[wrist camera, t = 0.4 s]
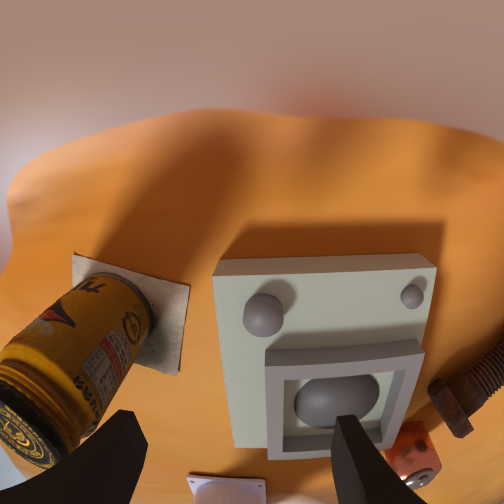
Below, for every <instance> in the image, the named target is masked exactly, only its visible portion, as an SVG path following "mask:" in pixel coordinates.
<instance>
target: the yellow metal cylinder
mask: <svg viewBox="0 0 504 504" xmlns="http://www.w3.org/2000/svg"><path fill="white" fill-rule="evenodd" d="M72 279H73V288H72V289H71V290H70V291H69V292H67V293H66V294H64V295H63V296H62V297H61V298H59V299H58V300H57V301H56V302H55V303H54V304H53V305H52V306H50V307H49V308H47V309H46V310H45V311H44V312H43V313H42V314H41V315H40V316H39V317H38V318H36V319H35V320H34V321H33V322H32V323H30V324H29V325H28V326H27V327H26V328H25V329H24V330H22V331H21V332H20V333H19V334H17V335H16V336H14V337H13V338H12V339H11V341H10V342H9V343H8V344H7V345H6V346H5V347H4V348H3V350H2V351H1V353H0V439H1V440H2V441H3V442H4V443H5V444H6V445H7V446H8V447H9V448H11V449H12V450H13V451H14V452H16V453H17V454H18V455H20V456H21V457H23V458H24V459H26V460H27V461H29V462H30V463H32V464H34V465H36V466H38V467H40V468H43V469H49V468H51V467H52V466H54V465H55V464H57V463H58V462H60V461H61V460H62V459H64V458H65V457H66V456H67V455H69V454H70V453H71V452H72V451H74V450H75V449H76V448H77V447H78V446H79V444H80V439H82V438H84V437H87V436H89V435H91V433H93V432H94V431H95V429H96V428H97V426H98V424H99V422H100V421H101V419H102V417H103V415H104V413H105V412H106V410H107V408H108V406H109V404H110V402H111V401H112V399H113V397H114V395H115V394H116V392H117V390H118V388H119V387H120V385H121V383H122V382H123V380H124V378H125V376H126V375H127V373H128V371H129V370H130V368H131V366H132V365H133V363H135V364H140V365H142V366H146V367H149V368H152V369H156V370H158V371H160V372H163V373H166V374H170V375H174V376H177V373H178V366H179V359H180V350H181V344H182V337H183V330H184V323H185V315H186V309H187V301H188V295H189V288H190V286H186V285H182V284H177V283H173V282H170V281H166V280H161V279H157V278H154V277H150V276H147V275H142V274H140V273H136V272H133V271H129V270H127V269H123V268H120V267H117V266H113V265H109V264H106V263H102V262H99V261H96V260H92V259H88V258H86V257H82V256H78V255H72ZM150 301H152V302H153V305H151V304H150ZM154 306H156V307H157V308H158V310H156V309H155V308H154Z"/></svg>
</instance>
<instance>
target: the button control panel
mask: <svg viewBox="0 0 504 504" xmlns="http://www.w3.org/2000/svg"><path fill="white" fill-rule="evenodd" d="M436 270H437V267H436V266H435V265H433V264H432V263H431V262H430V261H428V260H427V259H426V258H425V257H423V256H422V255H421V254H419V253H401V254H374V255H345V256H315V257H283V258H250V259H219V261H218V264H217V266H216V268H215V270H214V273H213V275H212V282H213V292H214V301H215V310H216V318H217V327H218V335H219V343H220V351H221V358H222V366H223V373H224V381H225V388H226V395H227V402H228V408H229V415H230V422H231V428H232V434H233V441H234V447H235V448H267V450H268V460H292V459H310V458H323V457H331V450H330V449H331V444H332V439H333V434H334V428H335V423H336V417H337V416H343V415H351V414H354V415H356V416H357V418H358V420H359V422H360V423H361V425H362V427H363V428H364V430H365V431H366V433H367V435H368V436H369V438H370V439H371V441H372V442H373V444H374V445H375V447H376V448H377V449H378V450H384V449H389V448H392V446H393V444H394V441H395V439H396V437H397V434H398V432H399V429H400V427H401V424H402V422H403V419H404V417H405V414H406V411H407V409H408V406H409V403H410V400H411V398H412V395H413V392H414V389H415V386H416V383H417V380H418V376H419V373H420V370H421V367H422V363H423V360H424V356H425V351H424V350H423V348H422V347H421V344H422V340H423V336H424V332H425V328H426V323H427V319H428V314H429V310H430V305H431V299H432V294H433V289H434V283H435V277H436Z"/></svg>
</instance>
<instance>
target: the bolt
mask: <svg viewBox="0 0 504 504" xmlns="http://www.w3.org/2000/svg"><path fill="white" fill-rule="evenodd" d="M469 371H470V372H466V373H465V374H463V375H461V376H460V377H459V378H458V379H457V380H455V381H454V382H453V383H452V384H451V385H449V386H448V387H447V385H446V384H445V383H444V381H443V380H442V378H441V377H440V378H438V379H437V380H436V381H434V382H433V383H432V384H430V385H429V386H428V391H427V392H428V394H429V396H430V398H431V399H432V401H433V403H434V405H435V406H436V408H437V410H438V412H439V413H440V415H441V416H442V418H443V420H444V421H445V423H446V424H447V426H448V427H449V429H450V430H451V432H452V433H453V435H454V436H455V437H457V438H464V437H465V436H466V435H468V434H469V433H470V432H472V431H473V430H474V429H473V427H472V425H471V423H470V422H469V420H468V417H470V416H471V415H472V414H473V413H475V412H476V411H477V410H478V409H479V408H481V407H482V406H483V404H484V403H485V402H486V400H488V398H489V397H492V394H495V391H498V388H499V389H500V388H501V386H504V338H503V339H502V341H500V342H499V344H497V345H496V346H495V347H494V349H492V350H491V352H488V355H485V358H482V361H479V364H478V363H477V364H476V366H473V369H470V370H469Z"/></svg>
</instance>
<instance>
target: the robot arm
mask: <svg viewBox="0 0 504 504" xmlns="http://www.w3.org/2000/svg"><path fill="white" fill-rule="evenodd" d="M147 447H148V443H147V441H146V439H145V437H144V434H143V432H142V430H141V428H140V426H139V423H138V421H137V419H136V416H135V414H134V412H133V411H126V410H120V409H119V410H118V411H117V412H116V413H115V414H114V415H113V416H112V417H111V418H109V419H108V420H107V421H106V422H105V423H104V424H103V425H102V426H101V427H100V428H99V429H98V430H97V431H96V432H94V433H93V434H92V435H91V436H90V437H89V438H88V439H87V440H86V441H84V442H83V443H82V444H81V445H80V446H79V447H77V448H76V449H75V450H74V451H72V452H71V453H70V454H69V455H67V456H66V457H65V458H64V459H62V460H61V461H60V462H58V463H57V464H55V465H54V466H52V467H51V468H49V469H47V470H46V471H44V472H42V473H41V474H39V475H37V476H35V477H33V478H31V479H29V480H27V481H25V482H23V483H20V484H18V485H15V486H13V487H10V488H7V489H4V490H1V491H0V504H129V503H130V500H131V498H132V495H133V492H134V490H135V487H136V485H137V482H138V479H139V477H140V474H141V471H142V468H143V465H144V461H145V457H146V452H147ZM330 450H331V462H332V473H333V478H334V483H335V488H336V493H337V497H338V502H339V504H427V503H426V502H425V501H423V500H422V499H421V498H420V497H419V496H418V495H417V494H416V493H415V492H414V491H413V490H411V489H410V488H409V487H408V486H407V485H406V483H405V482H404V481H403V480H402V479H401V478H400V477H399V476H398V475H397V473H396V472H395V471H394V470H393V469H392V468H391V466H390V465H389V464H388V463H387V461H386V460H385V459H384V457H383V456H382V455H381V453H380V452H379V451H378V449H377V448H376V447H375V445H374V444H373V442H372V441H371V439H370V438H369V436H368V435H367V433H366V431H365V430H364V428H363V427H362V425H361V423H360V422H359V420H358V418H357V416H356V415H354V414H351V415H343V416H337V417H336V423H335V428H334V434H333V439H332V444H331V449H330ZM186 479H187V481H188V483H189V486H190V488H191V490H192V492H193V494H194V501H193V504H266V486H265V480H263V479H241V478H222V477H209V476H198V475H187V478H186Z"/></svg>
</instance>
